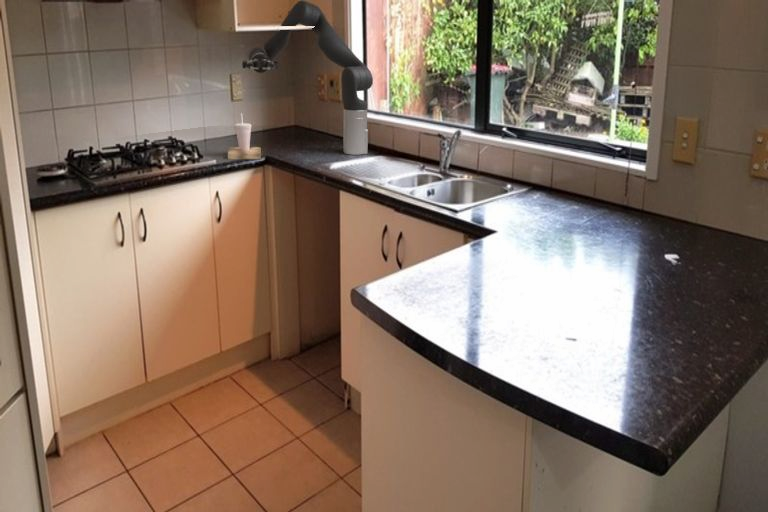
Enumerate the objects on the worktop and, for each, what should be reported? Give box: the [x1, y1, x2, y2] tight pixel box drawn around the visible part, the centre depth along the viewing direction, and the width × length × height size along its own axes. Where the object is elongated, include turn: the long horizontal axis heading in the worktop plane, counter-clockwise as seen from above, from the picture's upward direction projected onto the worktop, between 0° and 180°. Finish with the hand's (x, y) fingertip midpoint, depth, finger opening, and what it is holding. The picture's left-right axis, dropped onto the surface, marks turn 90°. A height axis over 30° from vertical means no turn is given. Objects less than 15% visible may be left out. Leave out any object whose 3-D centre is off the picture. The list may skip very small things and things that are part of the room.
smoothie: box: [234, 112, 252, 151], centre depth 270 cm, size 6×6×14 cm
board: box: [227, 146, 262, 160], centre depth 273 cm, size 12×12×2 cm
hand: (260, 66), depth 279 cm, fingers open, 8 cm apart
